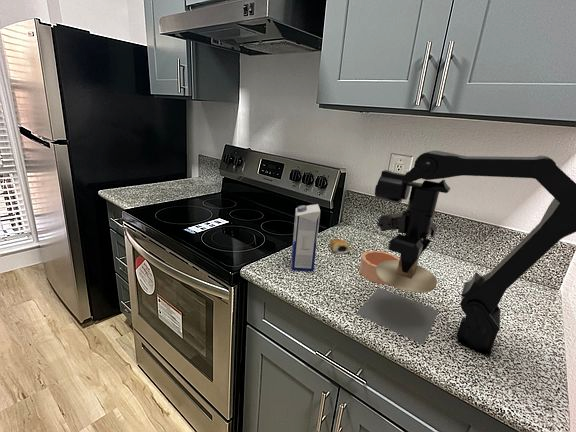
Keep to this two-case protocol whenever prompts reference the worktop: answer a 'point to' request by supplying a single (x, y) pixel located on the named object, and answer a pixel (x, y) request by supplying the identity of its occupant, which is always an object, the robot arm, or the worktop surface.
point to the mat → (399, 314)
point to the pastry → (339, 246)
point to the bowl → (373, 264)
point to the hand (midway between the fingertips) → (407, 269)
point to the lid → (406, 276)
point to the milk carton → (305, 237)
